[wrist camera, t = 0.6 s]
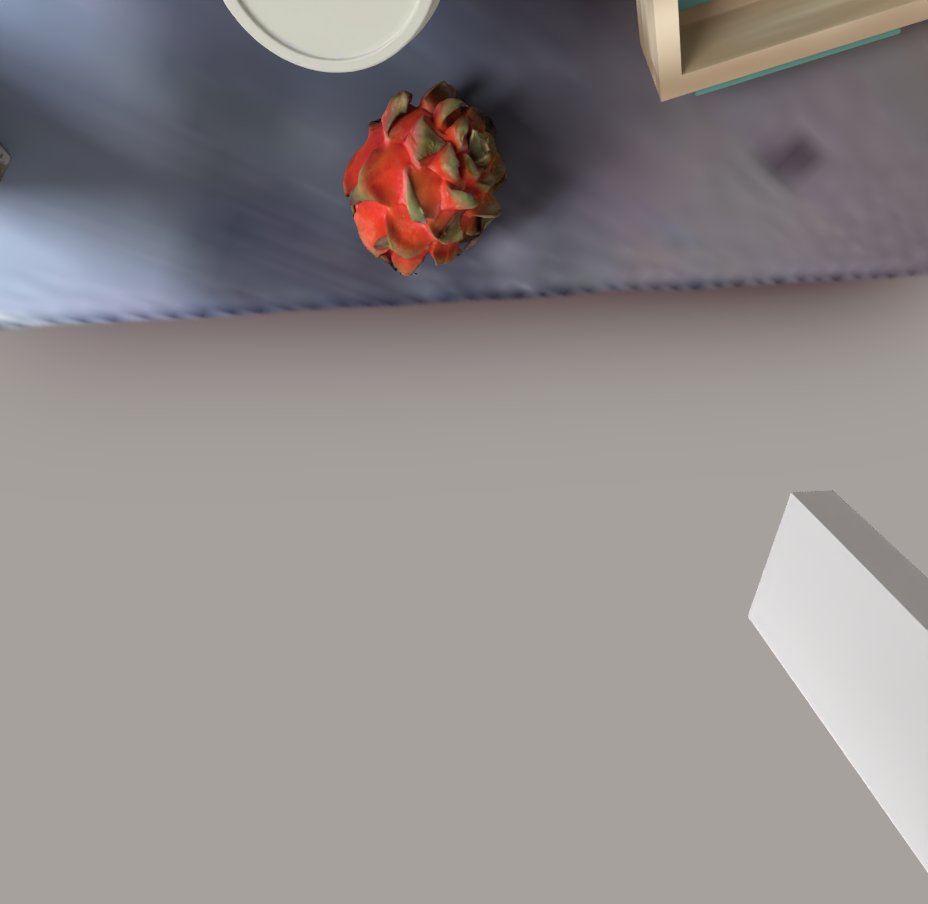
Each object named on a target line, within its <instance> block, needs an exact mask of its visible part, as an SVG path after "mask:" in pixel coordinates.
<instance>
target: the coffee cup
mask: <svg viewBox="0 0 928 904" xmlns="http://www.w3.org/2000/svg"><path fill="white" fill-rule="evenodd" d="M223 1H224V2H225V4H226V6H227V7H228V9H229V10H230V11H231V13H232V14H233V16H234V17H235V18H236V19H237V21H238V22H239V23H240V24H241V25H242V27H243V28H244V29H245V30H246V31H247V32H248V33H249V34H250V35H251V36H252V37H253V38H254V39H256V40H257V41H258V42H259V43H260V44H262V45H263V46H264V47H266V48H267V49H268V50H270V51H271V52H273V53H274V54H276V55H278V56H279V57H281V58H283V59H285V60H287V61H289V62H292V63H294V64H296V65H299V66H302V67H305V68H308V69H312V70H316V71H323V72H331V73H342V72H353V71H358V70H362V69H366V68H369V67H372V66H375V65H377V64H379V63H381V62H383V61H385V60H387V59H388V58H390V57H392V56H393V55H394V54H396V53H397V52H398V51H400V50H401V49H402V48H403V47H404V46H405V45H407V44H408V43H409V42H410V41H411V40H412V39H413V38H414V37H415V36H416V35H417V34H418V33H419V32H420V31H421V30H422V29H423V28H424V26H425V25H426V23H427V22H428V21H429V19H430V18H431V16H432V15H433V13H434V11H435V9H436V7H437V5H438V3H439V1H440V0H223Z"/></svg>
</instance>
